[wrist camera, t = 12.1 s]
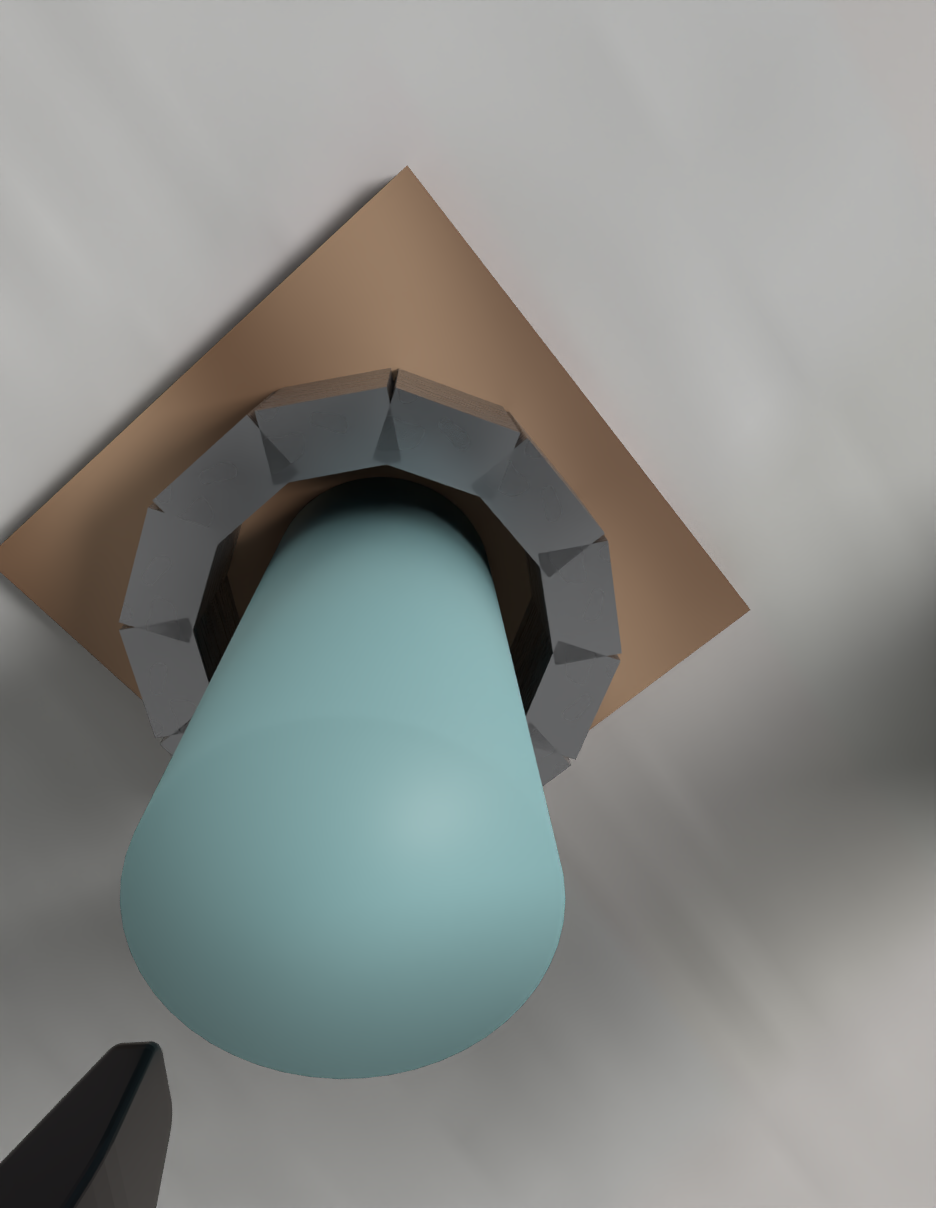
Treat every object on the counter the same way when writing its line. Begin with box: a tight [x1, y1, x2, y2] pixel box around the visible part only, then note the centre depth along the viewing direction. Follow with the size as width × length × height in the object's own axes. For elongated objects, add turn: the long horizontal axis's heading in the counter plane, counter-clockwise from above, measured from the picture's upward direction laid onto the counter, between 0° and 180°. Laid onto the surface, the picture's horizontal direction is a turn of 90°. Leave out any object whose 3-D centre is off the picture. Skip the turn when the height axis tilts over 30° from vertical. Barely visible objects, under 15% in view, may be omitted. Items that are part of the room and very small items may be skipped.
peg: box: [120, 477, 565, 1079], centre depth 14 cm, size 4×4×10 cm
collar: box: [119, 368, 622, 786], centre depth 17 cm, size 8×8×3 cm
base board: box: [0, 166, 750, 730], centre depth 19 cm, size 11×11×1 cm
